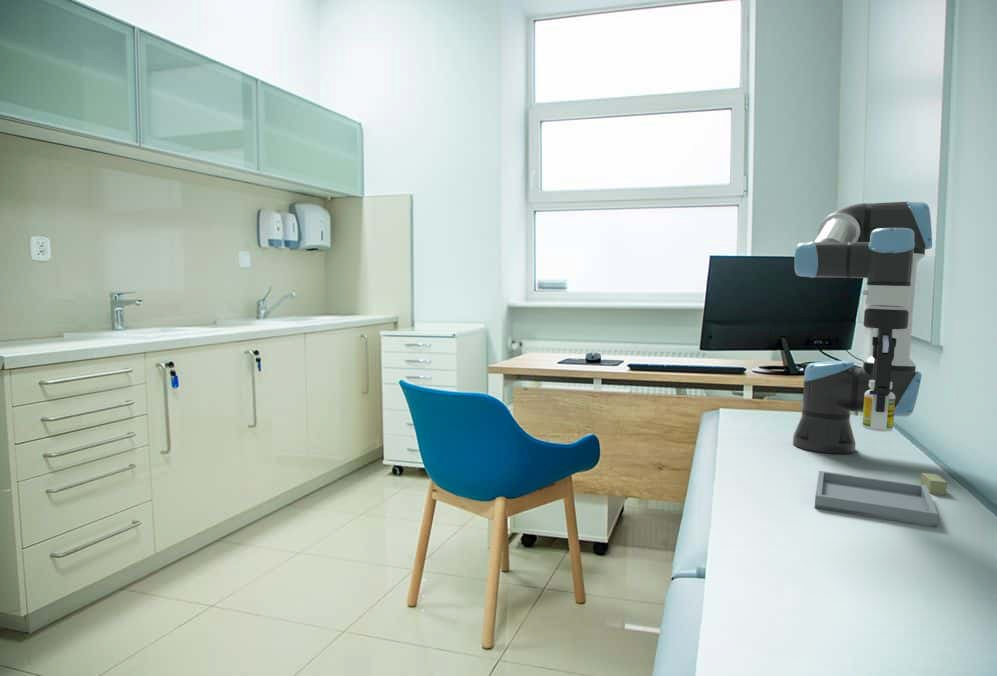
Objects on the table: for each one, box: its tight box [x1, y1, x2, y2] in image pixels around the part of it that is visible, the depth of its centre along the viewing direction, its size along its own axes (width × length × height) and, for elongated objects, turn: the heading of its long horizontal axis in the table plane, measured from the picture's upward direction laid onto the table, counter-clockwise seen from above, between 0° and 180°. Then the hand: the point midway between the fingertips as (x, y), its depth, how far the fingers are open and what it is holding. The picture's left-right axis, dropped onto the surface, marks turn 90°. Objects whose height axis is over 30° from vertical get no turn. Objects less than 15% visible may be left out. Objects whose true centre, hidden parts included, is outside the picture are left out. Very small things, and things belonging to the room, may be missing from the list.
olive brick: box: [919, 472, 948, 495], centre depth 144 cm, size 6×3×3 cm, turn 164°
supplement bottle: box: [862, 380, 895, 433], centre depth 133 cm, size 5×5×10 cm
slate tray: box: [814, 470, 939, 528], centre depth 135 cm, size 20×20×2 cm
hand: (877, 424), depth 133 cm, fingers closed on supplement bottle, 5 cm apart
